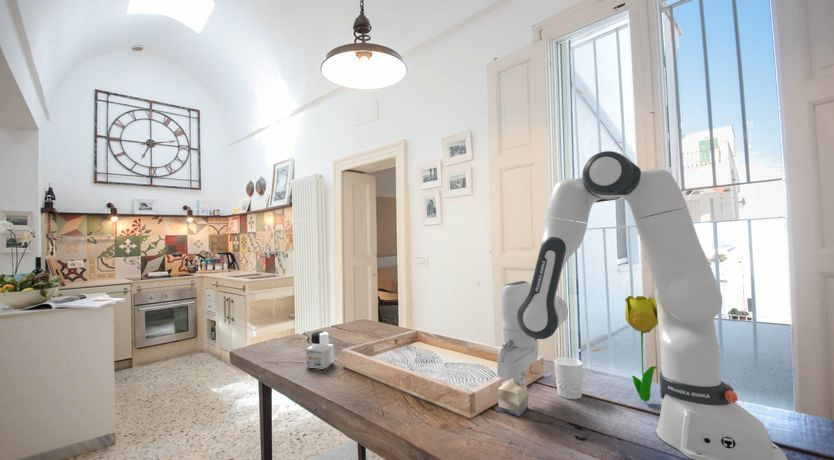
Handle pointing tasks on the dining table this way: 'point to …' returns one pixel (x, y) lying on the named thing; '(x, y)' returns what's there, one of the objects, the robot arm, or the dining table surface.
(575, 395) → the white cup
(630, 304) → the flower
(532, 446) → the dining table surface
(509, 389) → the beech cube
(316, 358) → the container
